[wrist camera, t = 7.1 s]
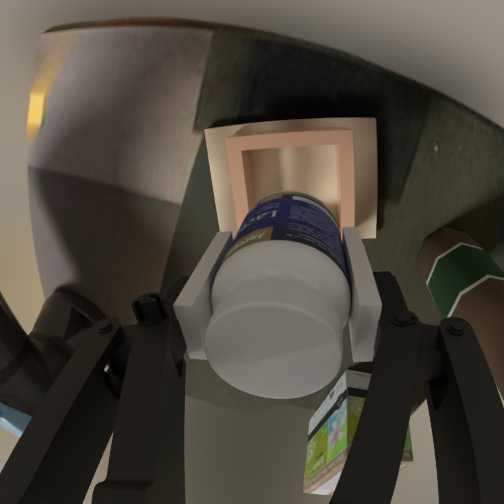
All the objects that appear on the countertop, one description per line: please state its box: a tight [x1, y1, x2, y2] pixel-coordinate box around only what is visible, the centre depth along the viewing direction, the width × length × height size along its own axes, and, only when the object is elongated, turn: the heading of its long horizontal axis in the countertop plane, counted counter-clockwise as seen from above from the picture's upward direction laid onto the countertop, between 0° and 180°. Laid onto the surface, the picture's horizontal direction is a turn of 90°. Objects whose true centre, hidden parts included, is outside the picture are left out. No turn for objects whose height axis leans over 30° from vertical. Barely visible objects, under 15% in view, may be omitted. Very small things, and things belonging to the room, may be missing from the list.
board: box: [204, 118, 377, 240], centre depth 30 cm, size 16×12×1 cm
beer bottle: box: [416, 227, 504, 400], centre depth 21 cm, size 8×8×24 cm
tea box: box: [303, 369, 413, 495], centre depth 38 cm, size 15×10×15 cm, turn 167°
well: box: [225, 127, 355, 240], centre depth 28 cm, size 10×10×4 cm
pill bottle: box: [204, 190, 351, 399], centre depth 14 cm, size 6×6×10 cm
